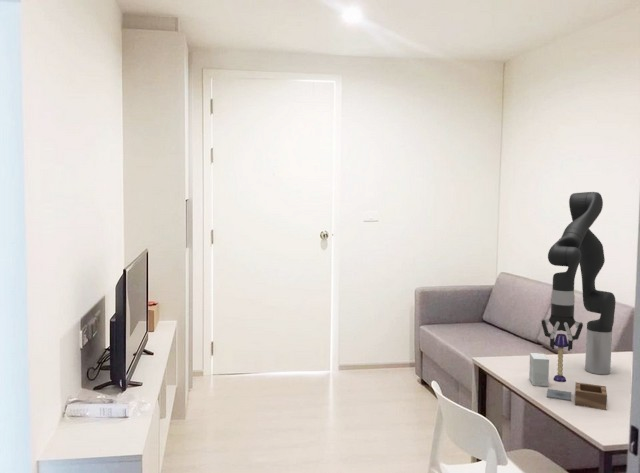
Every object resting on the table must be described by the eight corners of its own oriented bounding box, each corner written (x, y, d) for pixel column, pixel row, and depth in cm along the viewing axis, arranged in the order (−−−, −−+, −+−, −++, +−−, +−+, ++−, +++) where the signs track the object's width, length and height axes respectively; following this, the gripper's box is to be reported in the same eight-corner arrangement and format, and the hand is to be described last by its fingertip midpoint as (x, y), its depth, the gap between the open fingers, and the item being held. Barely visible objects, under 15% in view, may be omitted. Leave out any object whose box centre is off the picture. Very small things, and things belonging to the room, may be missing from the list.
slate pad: (547, 390, 201) (547, 388, 201) (571, 393, 197) (571, 392, 197) (546, 397, 194) (546, 395, 193) (571, 401, 190) (571, 399, 190)
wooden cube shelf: (575, 395, 195) (575, 382, 195) (605, 400, 191) (605, 386, 191) (574, 405, 187) (575, 390, 186) (606, 409, 183) (607, 395, 182)
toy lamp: (550, 378, 197) (551, 333, 196) (562, 377, 198) (564, 332, 196) (557, 382, 192) (558, 336, 191) (569, 382, 193) (571, 336, 192)
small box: (548, 386, 204) (549, 359, 204) (532, 385, 205) (533, 358, 205) (544, 379, 212) (545, 353, 211) (528, 378, 213) (529, 352, 212)
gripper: (584, 302, 193) (582, 349, 195) (541, 298, 199) (540, 344, 201) (585, 306, 186) (583, 354, 188) (540, 302, 192) (538, 349, 194)
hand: (560, 349), depth 194 cm, fingers closed on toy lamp, 4 cm apart
